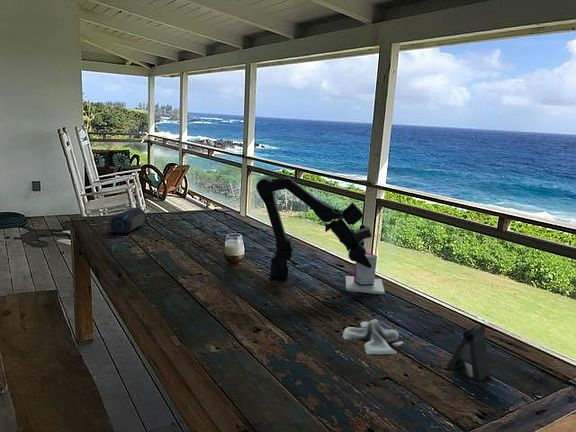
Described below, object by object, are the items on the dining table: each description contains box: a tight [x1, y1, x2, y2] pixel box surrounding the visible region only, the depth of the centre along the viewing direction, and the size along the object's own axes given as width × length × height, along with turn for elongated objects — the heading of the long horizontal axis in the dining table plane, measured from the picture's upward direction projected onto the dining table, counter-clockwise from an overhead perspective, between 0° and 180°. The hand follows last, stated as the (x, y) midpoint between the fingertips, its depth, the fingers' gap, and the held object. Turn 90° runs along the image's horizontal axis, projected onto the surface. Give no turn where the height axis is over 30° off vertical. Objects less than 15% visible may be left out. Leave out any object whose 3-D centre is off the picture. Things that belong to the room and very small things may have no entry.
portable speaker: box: [109, 207, 147, 235], centre depth 238 cm, size 25×10×10 cm, turn 174°
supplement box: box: [353, 252, 378, 286], centre depth 179 cm, size 6×6×12 cm
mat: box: [345, 275, 386, 295], centre depth 180 cm, size 14×14×1 cm
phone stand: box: [446, 324, 492, 383], centre depth 121 cm, size 9×6×12 cm, turn 42°
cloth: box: [342, 318, 404, 356], centre depth 137 cm, size 22×19×6 cm
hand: (369, 264), depth 178 cm, fingers open, 8 cm apart
